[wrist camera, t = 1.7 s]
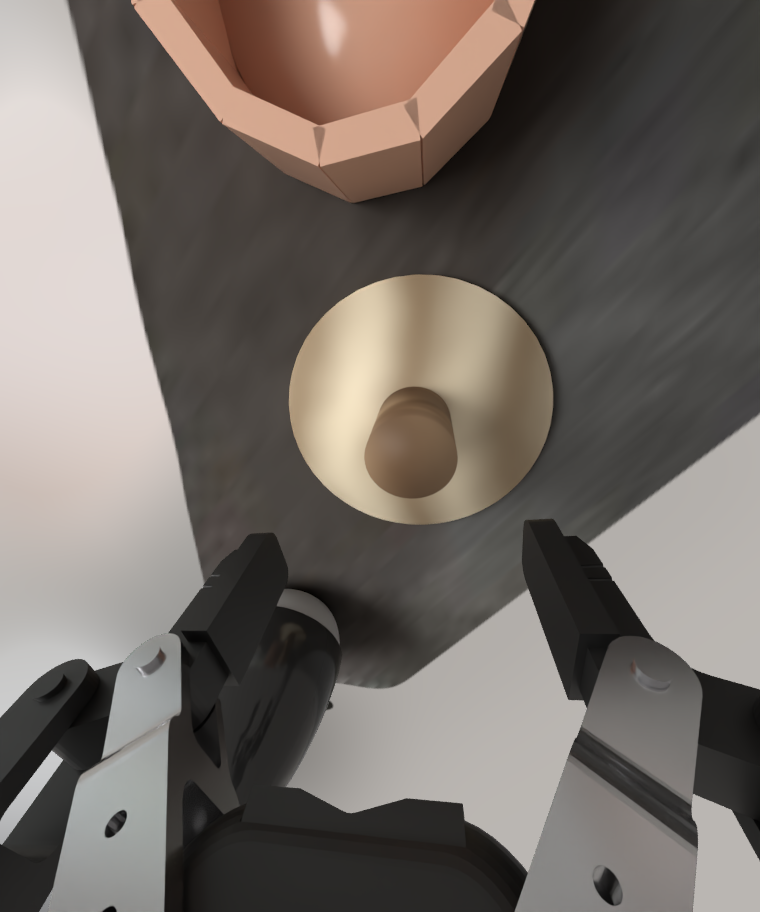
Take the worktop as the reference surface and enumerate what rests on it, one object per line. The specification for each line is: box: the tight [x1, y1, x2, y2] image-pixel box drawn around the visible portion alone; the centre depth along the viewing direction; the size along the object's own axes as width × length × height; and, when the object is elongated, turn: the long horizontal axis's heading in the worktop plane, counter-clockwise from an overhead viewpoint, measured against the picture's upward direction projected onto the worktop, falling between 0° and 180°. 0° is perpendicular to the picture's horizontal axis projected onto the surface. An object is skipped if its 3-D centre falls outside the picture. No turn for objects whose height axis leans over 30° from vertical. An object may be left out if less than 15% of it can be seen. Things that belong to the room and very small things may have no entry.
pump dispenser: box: [218, 589, 342, 806], centre depth 24 cm, size 10×10×15 cm
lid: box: [289, 275, 553, 524], centre depth 18 cm, size 16×16×6 cm
